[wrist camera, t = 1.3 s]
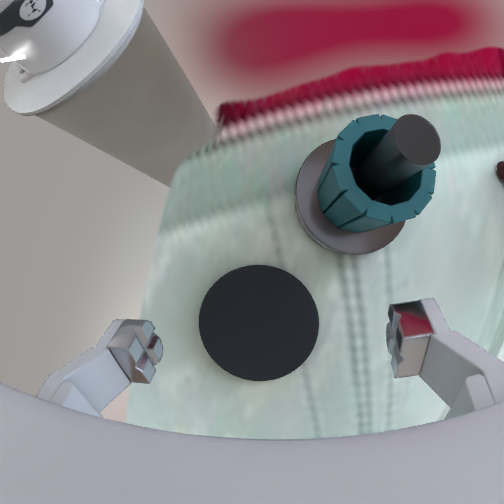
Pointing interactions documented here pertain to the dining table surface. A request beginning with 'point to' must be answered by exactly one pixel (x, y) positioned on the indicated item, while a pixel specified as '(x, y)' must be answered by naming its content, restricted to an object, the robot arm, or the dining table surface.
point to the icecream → (501, 169)
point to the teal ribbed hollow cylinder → (352, 197)
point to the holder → (367, 183)
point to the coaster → (258, 323)
